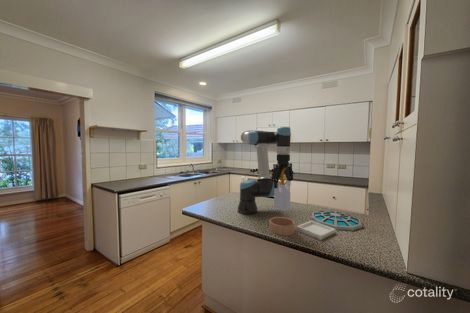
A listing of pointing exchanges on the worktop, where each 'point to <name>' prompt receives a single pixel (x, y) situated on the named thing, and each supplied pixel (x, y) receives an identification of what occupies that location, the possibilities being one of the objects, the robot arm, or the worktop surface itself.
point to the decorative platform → (337, 220)
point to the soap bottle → (282, 195)
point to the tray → (316, 230)
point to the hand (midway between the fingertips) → (282, 192)
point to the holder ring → (286, 223)
